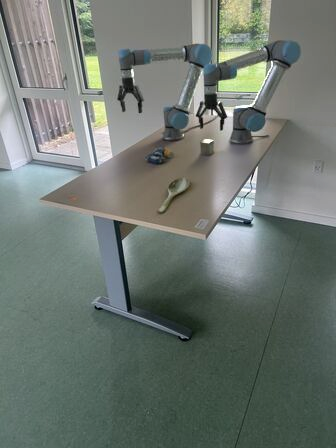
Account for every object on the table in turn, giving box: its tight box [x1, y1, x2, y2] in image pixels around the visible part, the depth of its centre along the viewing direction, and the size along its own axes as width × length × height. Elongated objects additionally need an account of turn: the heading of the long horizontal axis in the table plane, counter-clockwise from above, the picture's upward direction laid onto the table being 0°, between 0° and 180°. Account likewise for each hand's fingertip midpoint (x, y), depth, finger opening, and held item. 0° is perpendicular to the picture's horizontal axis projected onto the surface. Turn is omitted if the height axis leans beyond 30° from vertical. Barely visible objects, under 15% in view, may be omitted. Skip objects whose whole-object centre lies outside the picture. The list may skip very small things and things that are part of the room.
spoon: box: [157, 177, 191, 213], centre depth 166 cm, size 35×11×2 cm, turn 159°
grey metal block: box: [199, 138, 215, 156], centre depth 213 cm, size 6×6×8 cm
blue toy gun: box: [144, 147, 175, 165], centre depth 212 cm, size 21×4×15 cm
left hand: (132, 112), depth 218 cm, fingers open, 13 cm apart
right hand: (211, 129), depth 206 cm, fingers open, 13 cm apart
